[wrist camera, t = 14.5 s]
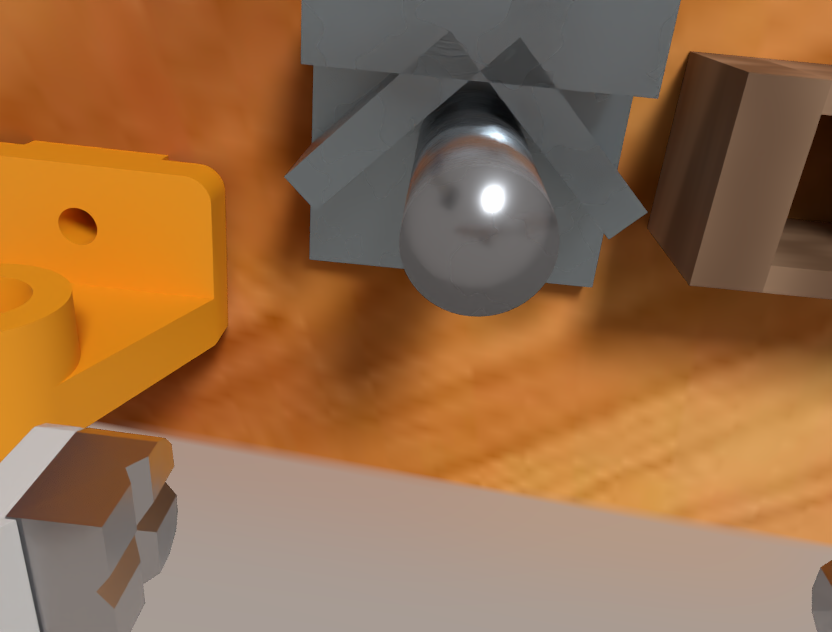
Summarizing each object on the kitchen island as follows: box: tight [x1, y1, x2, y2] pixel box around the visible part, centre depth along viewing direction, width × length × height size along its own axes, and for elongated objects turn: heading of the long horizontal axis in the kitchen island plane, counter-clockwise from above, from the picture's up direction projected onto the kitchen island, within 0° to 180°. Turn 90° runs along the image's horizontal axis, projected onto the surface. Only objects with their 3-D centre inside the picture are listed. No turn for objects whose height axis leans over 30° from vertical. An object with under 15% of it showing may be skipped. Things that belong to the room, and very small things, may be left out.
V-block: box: [284, 0, 681, 287], centre depth 26 cm, size 12×12×6 cm
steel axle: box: [399, 90, 560, 316], centre depth 23 cm, size 4×4×11 cm
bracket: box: [0, 141, 228, 462], centre depth 26 cm, size 11×7×12 cm, turn 84°
